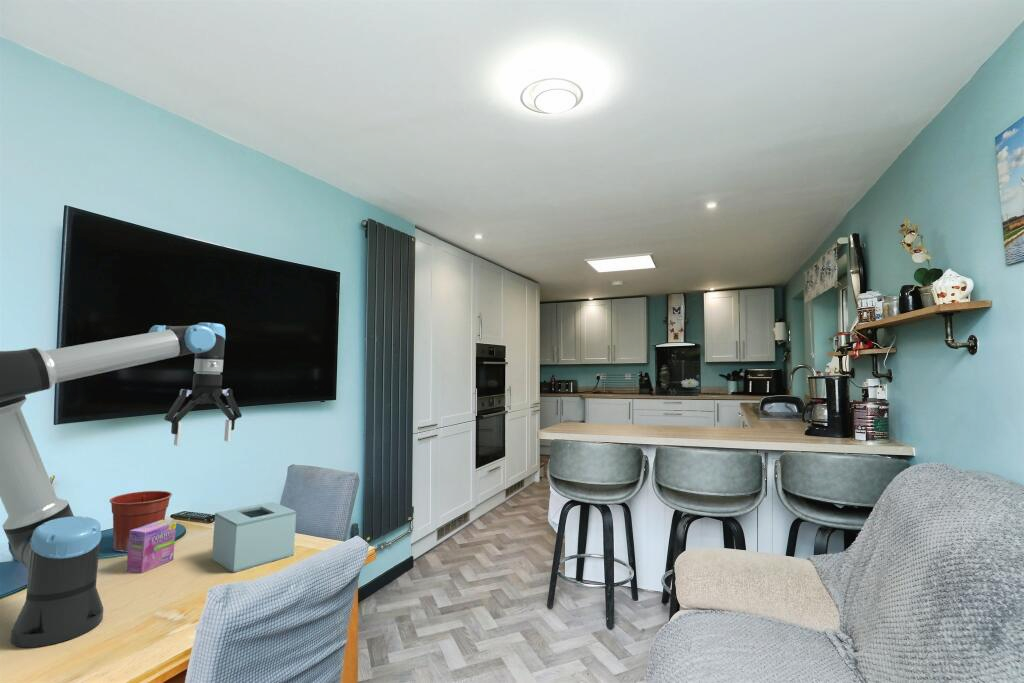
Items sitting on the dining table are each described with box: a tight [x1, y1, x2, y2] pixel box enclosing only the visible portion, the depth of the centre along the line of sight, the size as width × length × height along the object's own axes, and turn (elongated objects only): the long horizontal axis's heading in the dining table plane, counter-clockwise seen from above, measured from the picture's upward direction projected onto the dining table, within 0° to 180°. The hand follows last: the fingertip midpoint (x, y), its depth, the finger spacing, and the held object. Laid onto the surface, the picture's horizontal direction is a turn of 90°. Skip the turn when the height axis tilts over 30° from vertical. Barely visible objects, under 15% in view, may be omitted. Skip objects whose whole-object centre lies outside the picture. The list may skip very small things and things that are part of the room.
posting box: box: [211, 501, 297, 574], centre depth 152 cm, size 18×16×14 cm
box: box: [126, 519, 177, 574], centre depth 143 cm, size 10×6×12 cm, turn 168°
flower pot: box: [109, 490, 173, 551], centre depth 158 cm, size 16×16×16 cm
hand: (203, 443), depth 145 cm, fingers open, 13 cm apart
